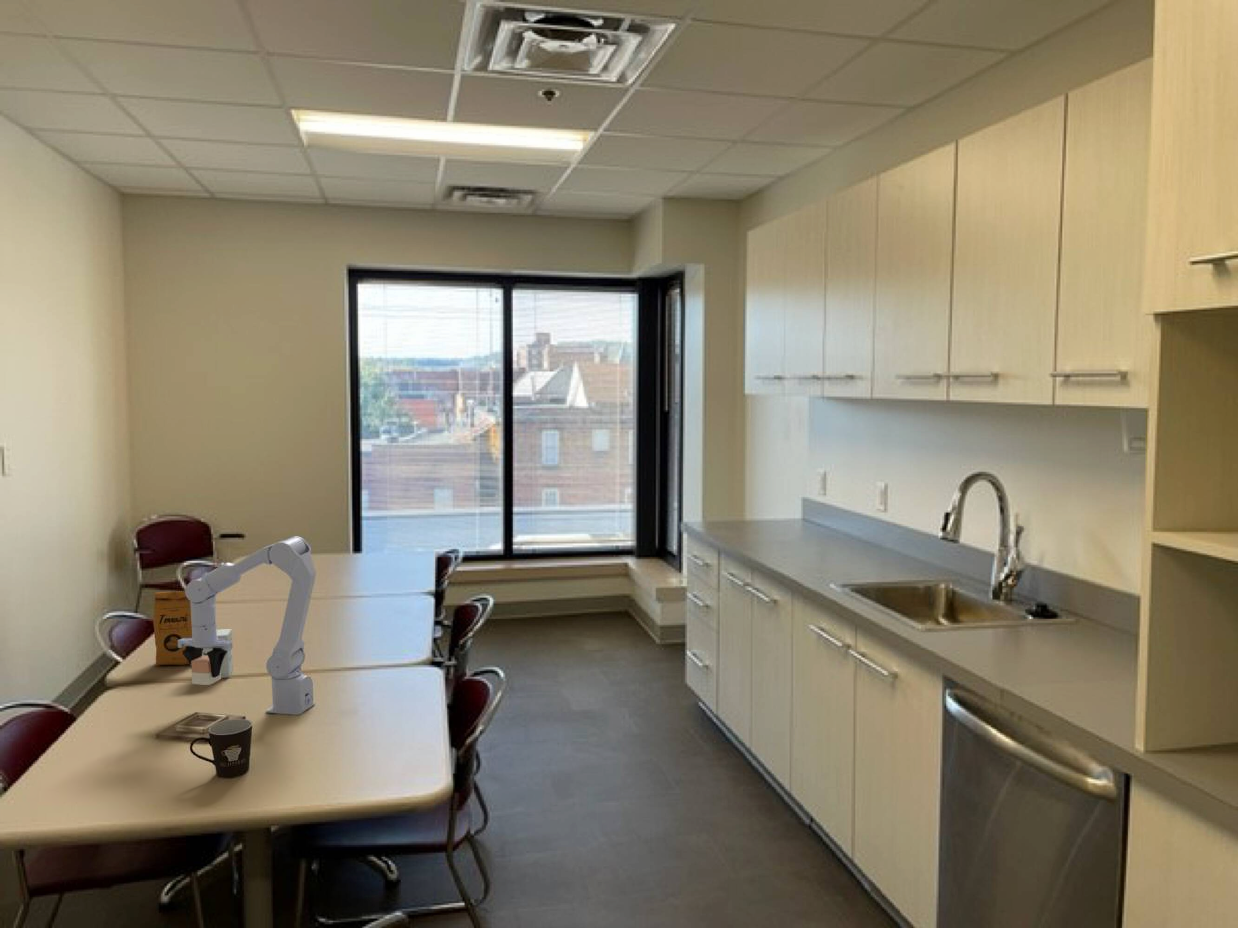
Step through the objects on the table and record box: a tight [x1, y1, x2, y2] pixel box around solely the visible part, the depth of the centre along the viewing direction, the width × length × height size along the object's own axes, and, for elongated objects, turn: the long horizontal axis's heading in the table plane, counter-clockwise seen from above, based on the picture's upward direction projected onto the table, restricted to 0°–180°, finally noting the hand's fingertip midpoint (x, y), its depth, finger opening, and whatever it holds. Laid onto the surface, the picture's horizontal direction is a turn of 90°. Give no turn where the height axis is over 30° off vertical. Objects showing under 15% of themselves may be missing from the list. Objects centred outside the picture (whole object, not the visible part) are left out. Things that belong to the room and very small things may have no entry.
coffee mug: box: [189, 719, 253, 779], centre depth 187 cm, size 12×9×10 cm
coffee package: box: [152, 590, 192, 666], centre depth 261 cm, size 10×12×22 cm
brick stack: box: [190, 655, 222, 686], centre depth 224 cm, size 5×5×6 cm
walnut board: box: [155, 711, 247, 743], centre depth 211 cm, size 14×14×2 cm
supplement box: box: [202, 628, 234, 679], centre depth 250 cm, size 7×7×13 cm
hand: (206, 675), depth 224 cm, fingers closed on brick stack, 5 cm apart
